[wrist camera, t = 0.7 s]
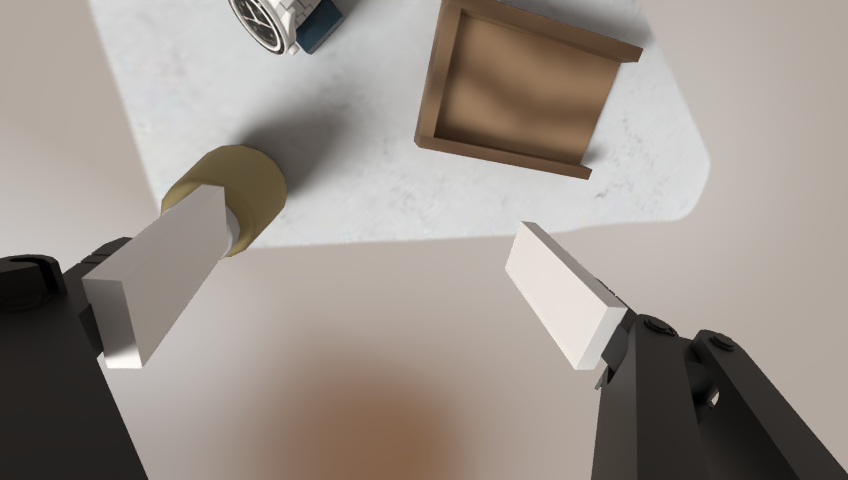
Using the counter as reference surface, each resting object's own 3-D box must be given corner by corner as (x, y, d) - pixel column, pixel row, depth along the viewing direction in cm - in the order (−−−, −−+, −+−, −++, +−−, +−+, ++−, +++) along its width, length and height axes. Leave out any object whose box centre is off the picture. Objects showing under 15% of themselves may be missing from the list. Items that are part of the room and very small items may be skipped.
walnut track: (442, -5, 32) (451, -13, 28) (619, 50, 36) (643, 48, 33) (413, 140, 37) (418, 147, 34) (571, 171, 42) (588, 179, 39)
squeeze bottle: (194, 148, 34) (47, 218, 18) (275, 128, 34) (203, 178, 18) (232, 221, 37) (140, 332, 21) (305, 202, 38) (267, 297, 22)
